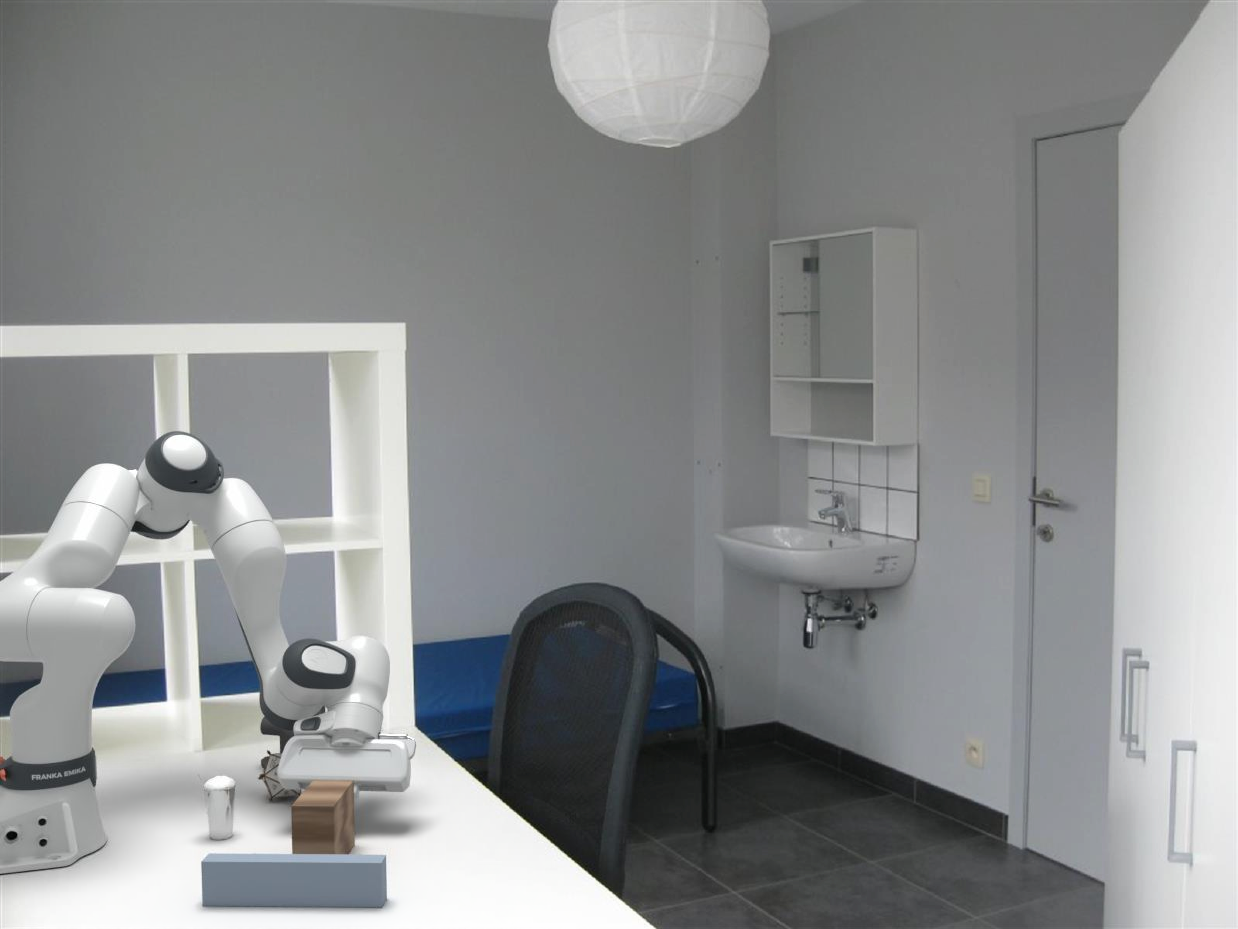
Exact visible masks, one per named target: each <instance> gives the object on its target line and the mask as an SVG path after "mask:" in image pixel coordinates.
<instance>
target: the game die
mask: <svg viewBox="0 0 1238 929" xmlns="http://www.w3.org/2000/svg"><path fill="white" fill-rule="evenodd" d="M266 753H267V755H268V756H269V758H268V761H267V764H266V767H265V770H264V769H263V773H260V774H259V776H258V777H257V779H258V780H262V781H263V783H264V785H265V787H266V789H267V791H268V793H269V795H270V797H269V799H268V800H269V803H271V802H273V800H274V798H284V797H285V798H286V797H294V796H295V797H296V796H298V797H299V796H300V795H301V794H302V793H301V792H302V790H298V789H284V788H283V787H282V785H281V784H280V782H279V781H278V778H277V770H278V766H279V762H280V759H281V756H282V753H280V752H278V753H277V752H276V753H272V752H271V750H268V749H267V750H266Z"/></svg>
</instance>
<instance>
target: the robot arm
mask: <svg viewBox="0 0 1238 929" xmlns="http://www.w3.org/2000/svg"><path fill="white" fill-rule="evenodd" d="M224 476H225V471H224V465H223V463H222V462H221V461H220V460H219V459H218V458H216V456H215V454H214V452H213V451H212V449H211V448H210V447H209V446H208V445H207V444H206V443H205V442H204V441H203V440H202V439H201V438H199V437H198V436H196V435H194V434H192V433H189V432H187V431H182V430H179V431H178V430H174V431H170V432H166V433H164V434H162V435H161V436H159V437H158V438H157V439H156V440H155V441H154V442H153V443H152V444H151V445H150V447H148V449H147V450H146V454H145V456H144V459H143V461H142V462H141V464H140V466H139V468H138V469H135V468H134V469H133V470H132V469H129V470H128V469H127V468H125V467H122V466H121V465H119V464H115V463H98V464H95V465H92V466H91V467H90V468H88V469H87V470H86V471H85V472H84V473H83V474H82V476H80V477H79V479H78V480H77V481H76V483H75V484H74V485H73V487H72V488H71V490H70V491H69V492H68V494H67V495H66V497H65V499H64V501H63V503H62V505H61V506H60V508H59V510H58V512H57V514H56V516H55V519H54V520H53V522H52V525H51V526H50V528H49V529H48V532H47V534H46V535H45V537H44V538H43V540H42V542H41V544H40V545H39V547H38V548H37V549H36V551H34V552H33V554H32V555H31V556H29V558H28V559H27V560H26V561H25V562H24V563H22V564H21V565H20V566H19V567H17V569H16V570H14V571H13V572H12V573H10V574H9V575H8V576H6V577H4V579H2V580H0V662H11V663H13V662H16V663H18V662H20V663H24V662H25V663H42V666H43V667H42V668H43V670H42V676H41V680H40V682H39V683H38V684H37V685H34V686H33V687H31V688H29V689H27V690H25V691H24V692H22V693H21V694H20V695H18V697H17V698H16V700H14V703H12V706H11V708H10V711H9V722H10V727H9V728H10V749H11V750H10V752H11V755H10V756H9V757H8V758H6V759H5V758H4V757H2V756H0V875H1V874H9V873H19V872H25V871H34V870H43V869H45V870H46V869H51V868H52V869H53V868H60V867H67V866H70V865H72V864H74V863H75V862H77V861H78V860H79V859H80V858H82V857H84V856H86V855H88V854H91V853H93V852H95V851H97V850H99V849H101V848H102V847H104V845H105V844H106V843H107V841H108V837H107V834H106V832H105V829H104V826H103V823H102V819H101V815H100V810H99V805H98V800H97V794H96V786H97V780H98V766H97V761H98V760H97V755H96V751H95V749H94V747H93V743H92V742H93V739H92V736H93V734H92V733H93V732H92V727H93V726H92V724H93V720H92V719H93V701H94V697H95V694H96V688H97V687H98V684H99V681H100V679H101V678H102V676H103V674H104V673H105V671H106V670H107V668H108V667H109V666H111V664H112V663H114V662H115V660H117V659H118V658H119V657H121V656H122V655H123V654H124V653H125V652H126V650H127V649H128V648H129V646H131V643H132V641H133V639H134V635H135V633H136V617H135V613H134V610H133V608H132V606H131V604H130V603H129V601H128V600H127V599H126V598H125V596H124V595H122V594H119V593H115V592H111V591H108V590H103V589H97V588H98V587H99V586H101V585H102V584H103V583H105V582H106V581H107V580H108V579H109V578H110V577H111V576H112V574H113V573H114V571H115V569H116V566H117V564H118V561H119V559H120V557H121V555H122V552H123V550H124V548H125V546H126V543H127V541H128V539H129V536H130V534H131V532H132V533H136V534H138V535H139V536H142V537H145V538H148V539H153V540H159V541H160V540H168V539H172V538H174V537H176V536H177V535H178V534H180V533H181V532H182V531H183V530H184V529H185V528H186V527H187V526H188V525H189V524H190V522H192V523H194V524H195V525H196V526H197V527H198V528H199V529H200V531H201V532H202V533H203V535H204V536H205V538H206V540H207V544H208V546H209V549H210V550H211V552H212V555H213V557H214V559H215V562H216V563H217V566H218V568H219V571H220V573H221V575H222V577H223V581H224V583H225V586H226V589H227V591H228V593H229V596H230V599H231V602H232V604H233V608H234V611H235V614H236V616H237V617H236V618H237V620H238V623H239V626H240V629H241V632H242V636H243V638H244V641H245V644H246V646H247V649H248V651H249V655H250V657H251V660H252V663H253V665H254V668H255V670H256V671H255V672H256V674H257V677H258V682H259V698H258V700H259V701H258V702H259V707H260V708H259V709H260V711H261V713H262V714H263V716H264V717H265V718H266V719H267V720H268V721H269V722H270V723H271V724H273V725H274V726H276V727H278V728H281V729H284V730H289V731H294V735H295V736H294V737H292V738H291V739H290V740H289V741H288V742H287V743H286V745H285V748H284V750H283V753H282V756H281V759H280V762H279V766H278V770H277V778H278V781H279V782H280V784H281V785H282V787H283V788H284V789H298V790H301V791H304V790H305V789H306V788H307V787H308V786H309V785H310V783H311V782H312V781H313V780H354V803H355V802H356V801H357V800H358V799H359V797H360V792H382V793H383V792H385V793H391V792H392V793H404V792H405V791H406V790H408V788H409V787H410V785H411V778H412V777H411V774H412V773H411V772H412V770H411V769H412V768H411V766H412V765H411V760H412V759H413V758H414V756H415V753H416V748H417V743H416V740H415V738H413V737H412V736H409V735H408V733H391V732H389V733H388V732H381V731H382V728H383V721H384V712H383V711H384V710H383V706H384V703H385V701H386V699H387V696H388V691H389V683H390V674H391V662H390V660H391V659H390V655H389V652H388V651H387V648H386V647H385V646H384V645H383V644H382V643H381V642H380V641H378V640H377V639H375V638H372V637H369V636H367V635H359V634H358V635H352V636H350V637H347V638H345V639H341V640H333V641H332V640H331V641H329V640H328V641H326V640H321V639H317V638H310V637H308V638H302V639H298V640H296V641H293V642H292V643H291V644H290V645H289V642H288V639H287V637H286V634H285V631H284V628H283V626H282V621H281V617H280V599H281V592H282V588H283V584H284V579H285V575H286V570H287V565H288V558H287V554H286V553H287V552H286V549H285V545H284V542H283V539H282V537H281V534H280V532H279V529H278V528H277V526H276V524H275V521H274V520H273V518H272V516H271V514H270V512H269V511H268V508H267V507H266V506H265V504H264V503H263V501H262V500H261V498H260V496H259V495H258V494H257V493H256V491H255V490H254V489H253V488H252V486H251V485H250V484H249V483H247V481H245V480H243V479H242V478H236V477H228V478H224ZM323 706H325V709H326V710H327V711H325V713H323V714H320V713H321V711H322V708H323Z"/></svg>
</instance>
